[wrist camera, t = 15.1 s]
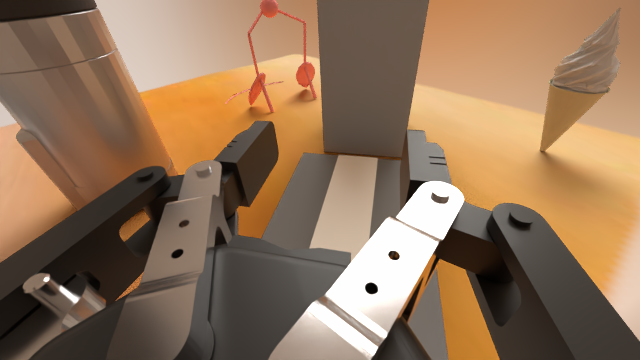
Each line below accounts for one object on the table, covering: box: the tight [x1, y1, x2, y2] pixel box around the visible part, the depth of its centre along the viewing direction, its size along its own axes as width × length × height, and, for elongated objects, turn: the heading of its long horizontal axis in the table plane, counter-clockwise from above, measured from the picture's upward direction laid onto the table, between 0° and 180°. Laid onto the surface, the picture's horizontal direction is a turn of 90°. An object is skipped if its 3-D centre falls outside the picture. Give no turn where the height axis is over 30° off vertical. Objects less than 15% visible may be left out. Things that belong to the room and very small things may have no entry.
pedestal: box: [317, 0, 429, 157], centre depth 29 cm, size 13×11×32 cm
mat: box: [261, 153, 448, 360], centre depth 22 cm, size 26×14×1 cm, turn 167°
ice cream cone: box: [540, 8, 621, 151], centre depth 28 cm, size 5×5×15 cm
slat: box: [309, 155, 378, 262], centre depth 20 cm, size 22×4×2 cm, turn 167°
